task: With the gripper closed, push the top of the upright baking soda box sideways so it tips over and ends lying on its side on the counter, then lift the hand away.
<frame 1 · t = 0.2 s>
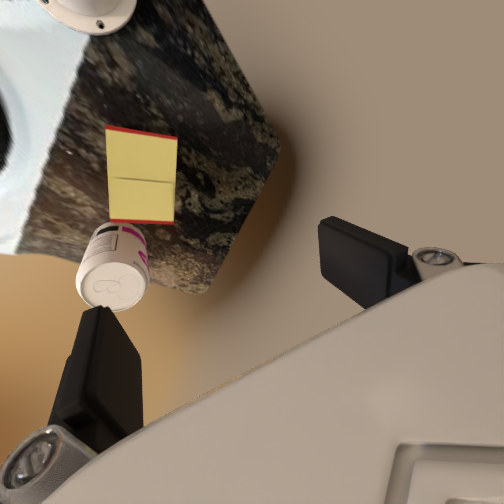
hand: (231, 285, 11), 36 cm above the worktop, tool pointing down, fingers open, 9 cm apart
baking soda box: (140, 164, 40), on the worktop
supplement can: (119, 242, 43), on the worktop
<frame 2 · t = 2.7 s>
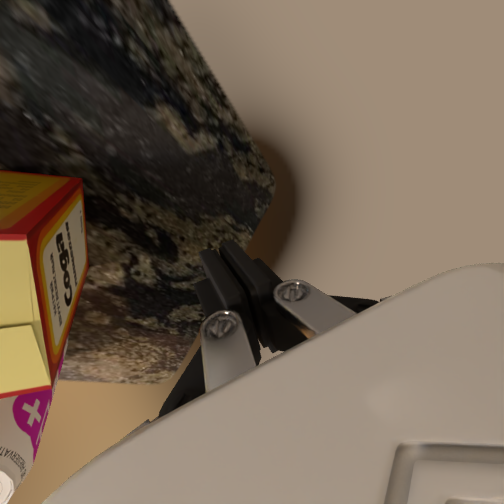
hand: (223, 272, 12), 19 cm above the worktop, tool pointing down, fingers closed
baking soda box: (46, 223, 25), on the worktop
supplement can: (25, 336, 28), on the worktop
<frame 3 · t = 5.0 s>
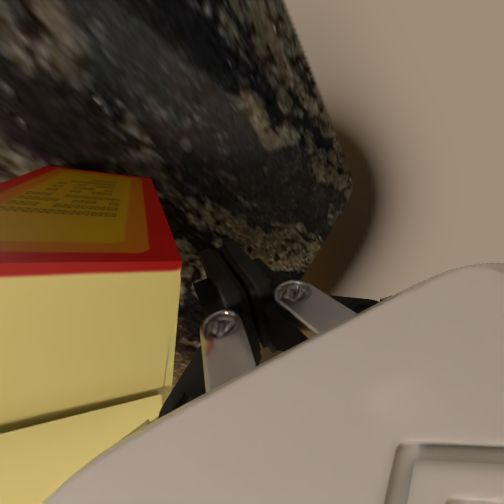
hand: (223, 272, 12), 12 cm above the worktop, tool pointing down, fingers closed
baking soda box: (105, 232, 20), on the worktop, touching gripper
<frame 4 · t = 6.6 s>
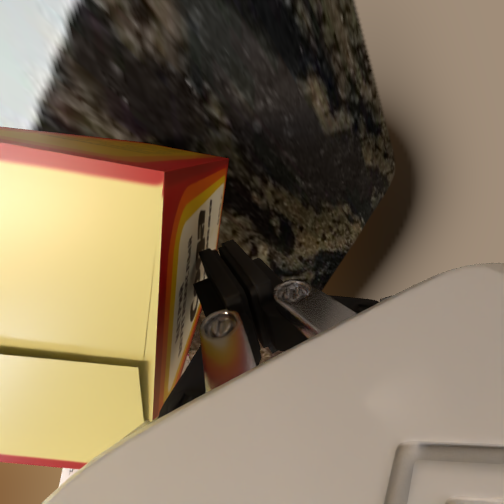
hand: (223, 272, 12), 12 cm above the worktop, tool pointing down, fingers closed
baking soda box: (182, 211, 21), point 1 cm above the worktop
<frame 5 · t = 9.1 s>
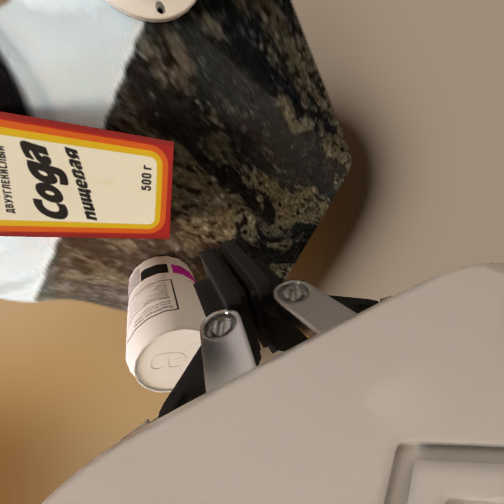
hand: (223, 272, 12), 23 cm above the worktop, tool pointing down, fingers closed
baking soda box: (169, 188, 28), point 3 cm above the worktop
supplement can: (161, 280, 35), on the worktop
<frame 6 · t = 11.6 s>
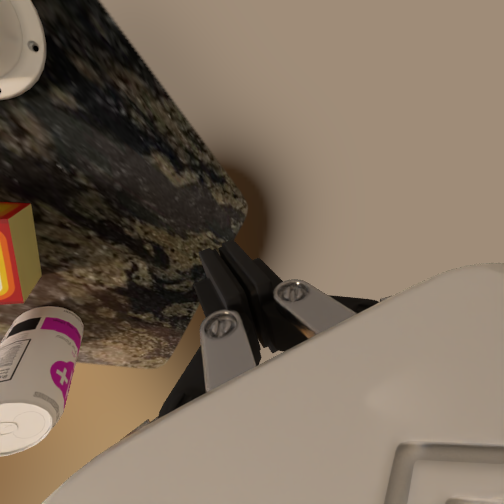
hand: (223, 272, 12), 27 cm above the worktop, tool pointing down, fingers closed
baking soda box: (29, 251, 29), point 3 cm above the worktop
supplement can: (50, 326, 36), on the worktop
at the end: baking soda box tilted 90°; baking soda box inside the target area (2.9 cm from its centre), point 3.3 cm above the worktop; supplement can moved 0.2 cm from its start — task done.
